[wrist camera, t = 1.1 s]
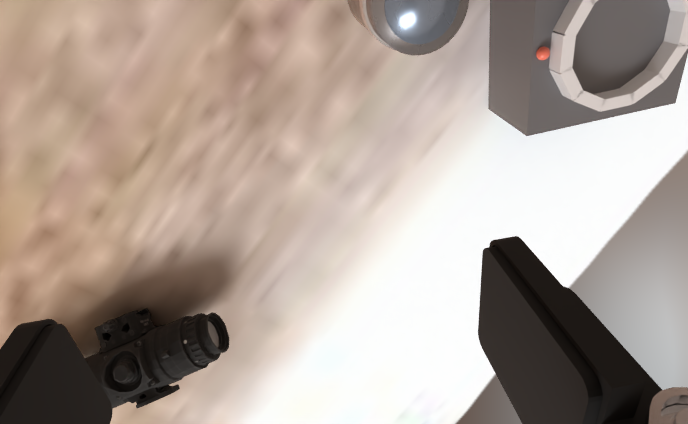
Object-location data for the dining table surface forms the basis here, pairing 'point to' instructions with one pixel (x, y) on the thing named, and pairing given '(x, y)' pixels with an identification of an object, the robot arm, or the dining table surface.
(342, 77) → the dining table surface
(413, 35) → the lens
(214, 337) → the night vision scope
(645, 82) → the grey ring-socket block
